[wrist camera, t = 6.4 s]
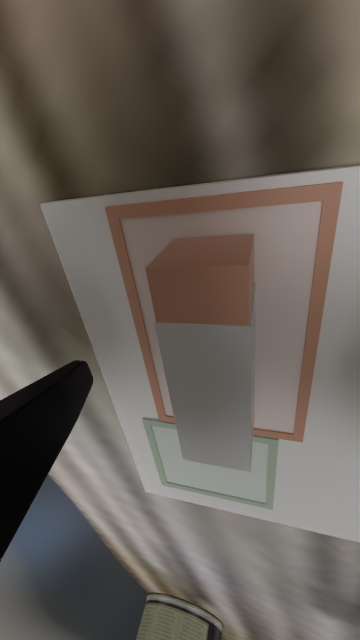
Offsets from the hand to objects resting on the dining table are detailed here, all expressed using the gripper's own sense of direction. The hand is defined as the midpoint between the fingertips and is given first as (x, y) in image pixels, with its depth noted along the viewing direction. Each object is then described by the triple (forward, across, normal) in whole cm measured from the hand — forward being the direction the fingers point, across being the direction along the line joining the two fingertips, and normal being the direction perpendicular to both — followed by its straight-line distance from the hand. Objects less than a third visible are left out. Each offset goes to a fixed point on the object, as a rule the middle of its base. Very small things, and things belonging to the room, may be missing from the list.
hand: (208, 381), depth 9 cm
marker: (+2, 0, 0) cm, 2 cm away
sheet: (+3, -2, +4) cm, 5 cm away
